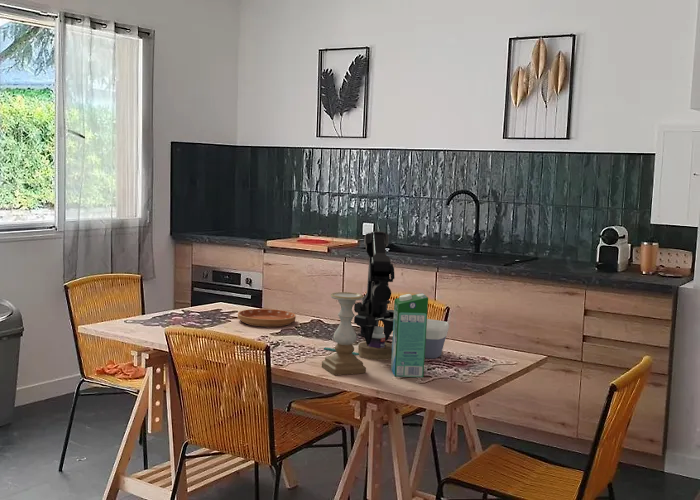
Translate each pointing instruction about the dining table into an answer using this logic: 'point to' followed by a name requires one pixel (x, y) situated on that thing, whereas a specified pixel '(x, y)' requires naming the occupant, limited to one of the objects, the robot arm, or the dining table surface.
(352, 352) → the teal stick
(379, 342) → the pill bottle
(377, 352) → the brown faceted ring
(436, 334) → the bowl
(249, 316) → the saucer
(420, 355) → the milk carton
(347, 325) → the candle holder
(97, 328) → the dining table surface
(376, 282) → the robot arm
